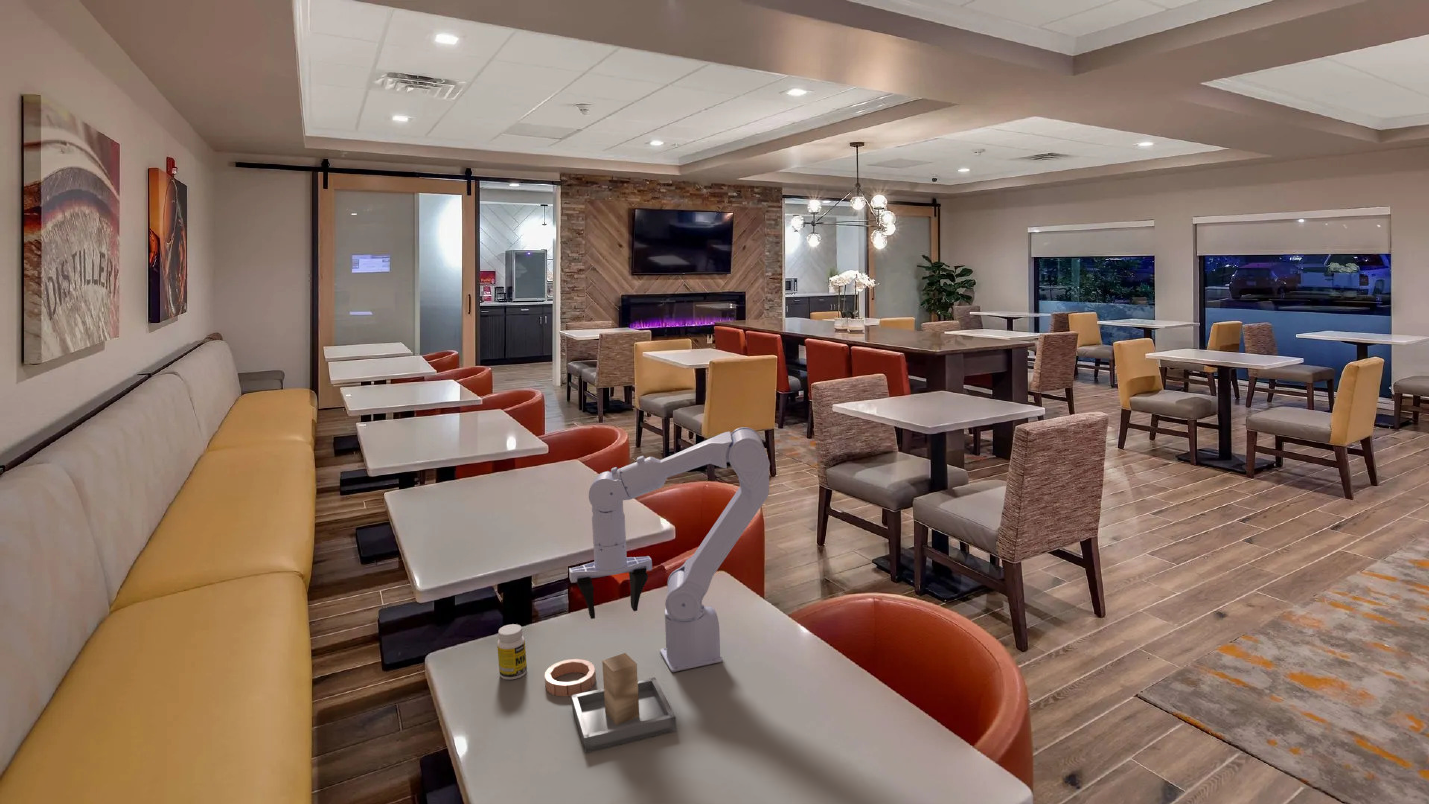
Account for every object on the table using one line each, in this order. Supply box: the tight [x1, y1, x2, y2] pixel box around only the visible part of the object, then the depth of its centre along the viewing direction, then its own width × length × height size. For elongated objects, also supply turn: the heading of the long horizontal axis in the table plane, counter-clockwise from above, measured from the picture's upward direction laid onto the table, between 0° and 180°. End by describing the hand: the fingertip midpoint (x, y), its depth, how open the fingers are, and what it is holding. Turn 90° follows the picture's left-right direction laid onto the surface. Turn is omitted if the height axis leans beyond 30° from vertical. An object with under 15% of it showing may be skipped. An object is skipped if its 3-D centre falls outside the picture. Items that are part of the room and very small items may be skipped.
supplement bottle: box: [496, 623, 528, 680], centre depth 132 cm, size 5×5×8 cm
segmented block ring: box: [544, 658, 597, 697], centre depth 129 cm, size 8×8×2 cm
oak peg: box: [601, 652, 639, 725], centre depth 117 cm, size 4×4×9 cm
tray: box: [570, 677, 677, 753], centre depth 118 cm, size 14×12×2 cm
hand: (613, 612), depth 134 cm, fingers open, 7 cm apart
